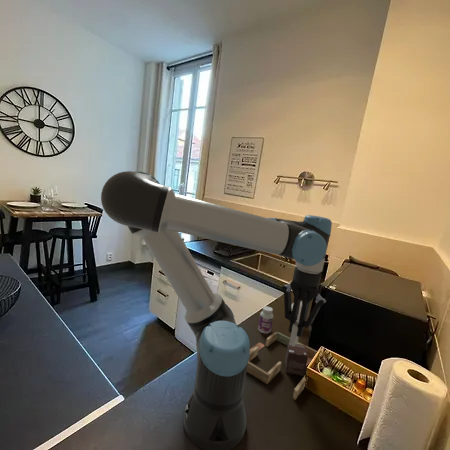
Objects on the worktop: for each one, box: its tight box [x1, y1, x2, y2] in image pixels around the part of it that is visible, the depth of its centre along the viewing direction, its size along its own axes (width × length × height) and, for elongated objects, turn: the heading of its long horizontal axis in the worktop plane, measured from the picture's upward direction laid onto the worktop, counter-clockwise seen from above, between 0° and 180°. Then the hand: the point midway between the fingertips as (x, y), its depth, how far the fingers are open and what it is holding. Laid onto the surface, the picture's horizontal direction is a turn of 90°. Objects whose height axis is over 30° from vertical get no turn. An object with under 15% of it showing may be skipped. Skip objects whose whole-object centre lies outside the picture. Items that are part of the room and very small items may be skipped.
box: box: [284, 342, 308, 377], centre depth 87 cm, size 6×6×7 cm
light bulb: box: [292, 301, 302, 322], centre depth 115 cm, size 7×7×11 cm
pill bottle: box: [257, 305, 274, 334], centre depth 107 cm, size 5×5×10 cm
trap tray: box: [246, 330, 318, 401], centre depth 89 cm, size 24×22×3 cm
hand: (293, 343), depth 80 cm, fingers closed
